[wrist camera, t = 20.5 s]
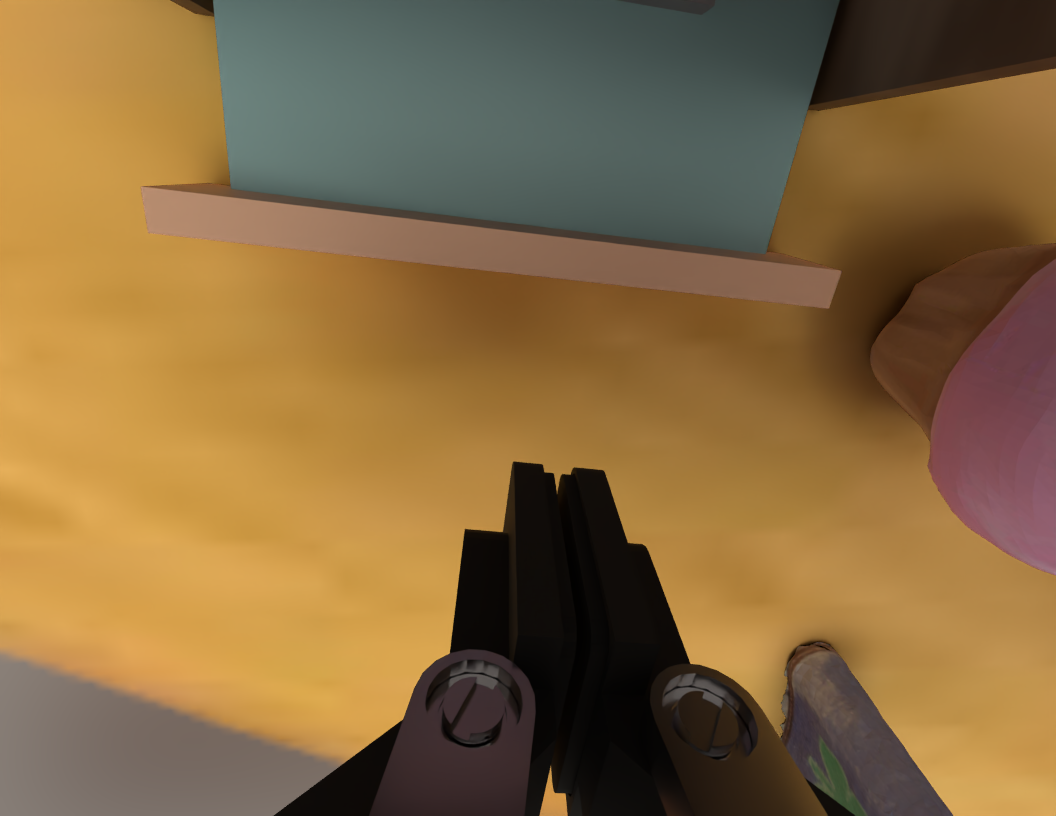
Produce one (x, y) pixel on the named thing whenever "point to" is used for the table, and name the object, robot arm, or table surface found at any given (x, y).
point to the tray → (518, 137)
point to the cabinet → (915, 46)
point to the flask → (849, 741)
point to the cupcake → (985, 391)
